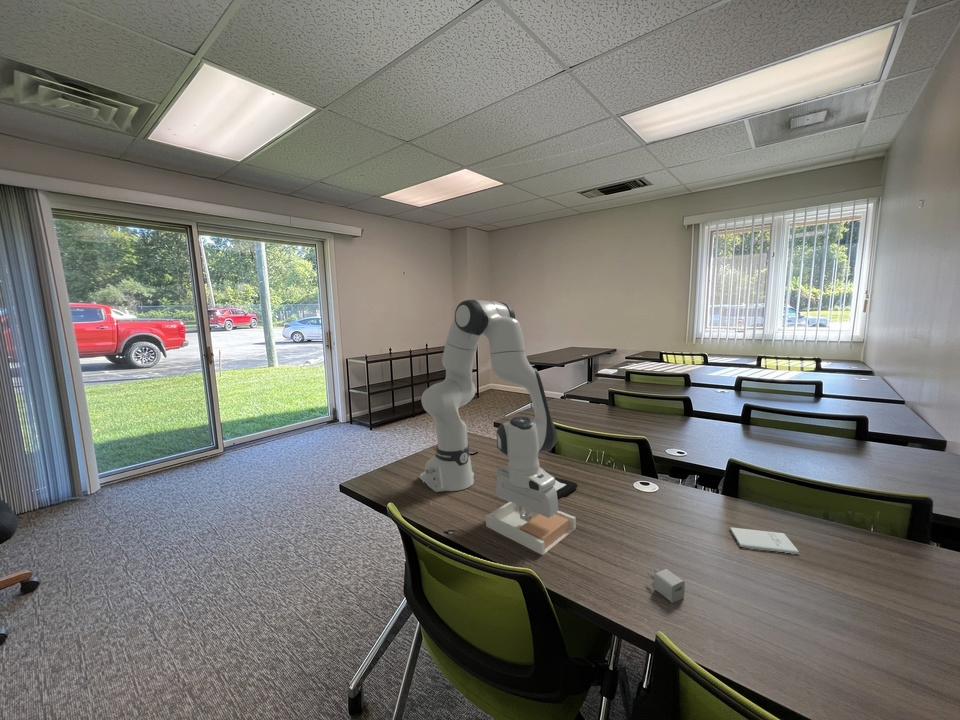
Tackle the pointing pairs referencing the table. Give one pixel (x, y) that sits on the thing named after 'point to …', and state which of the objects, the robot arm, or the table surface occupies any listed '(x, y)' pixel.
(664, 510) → the table surface
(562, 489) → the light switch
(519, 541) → the open box
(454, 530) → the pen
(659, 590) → the usb wall charger
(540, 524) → the light orange flat block
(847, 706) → the table surface
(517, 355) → the robot arm
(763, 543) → the external hard drive
